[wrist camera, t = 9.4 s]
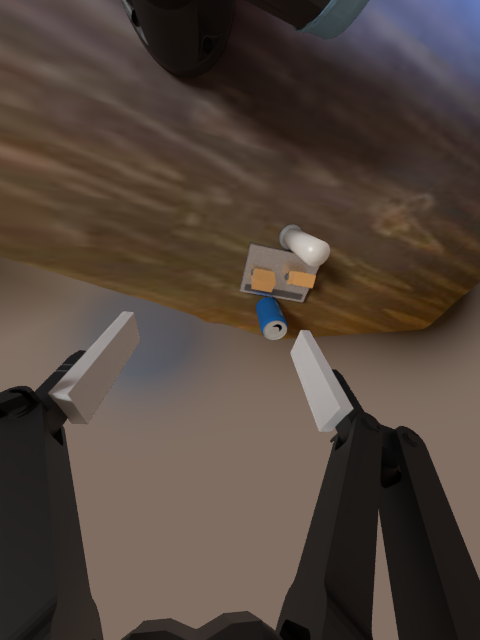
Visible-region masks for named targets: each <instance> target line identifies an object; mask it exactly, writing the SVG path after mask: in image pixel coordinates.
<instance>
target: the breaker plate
mask: <svg viewBox="0 0 480 640" xmlns="http://www.w3.org/2000/svg"><path fill="white" fill-rule="evenodd" d="M319 266H320V265H319ZM319 266H316V267H313V266H310V265H308V264H307V263H306V262H304V261H303V260H302V259H301V258H300V257H299V256H297V255H296V254H295V253H294V252H293V251H288V250H283V249H279V248H274V247H270V246H265V245H261V244H256V243H252V242H250V244H249V249H248V253H247V258H246V262H245V266H244V271H243V275H242V280H241V284H240V291H241V292H246V293H252V294H258V295H264V296H269V297H275V298H281V299H286V300H292V301H298V302H303V301H304V299H305V297H306V294H307V292H308V290H309V288H308V287H302V286H297V285H291V284H287V280H286V276H287V275H289V272H290V271H297V272H302V273H307V274H312V275H316V273H317V270H318V268H319ZM254 268H257V269H262V270H267V271H272V272H274V273H275V281H276V284H275V286H274V288H273V290H272V292H266V291H261V290H255V289H251V277H252V275H251V272H252V270H253V271H254Z"/></svg>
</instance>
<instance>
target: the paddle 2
mask: <svg viewBox="0 0 480 640" xmlns="http://www.w3.org/2000/svg"><path fill="white" fill-rule="evenodd" d="M315 278H316V275H312V274H307V273H302V272H297V271H290V272H289V275H287V276H286V280H287V284H291V285H297V286H302V287H308V288H313V285H314V281H315Z"/></svg>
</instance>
